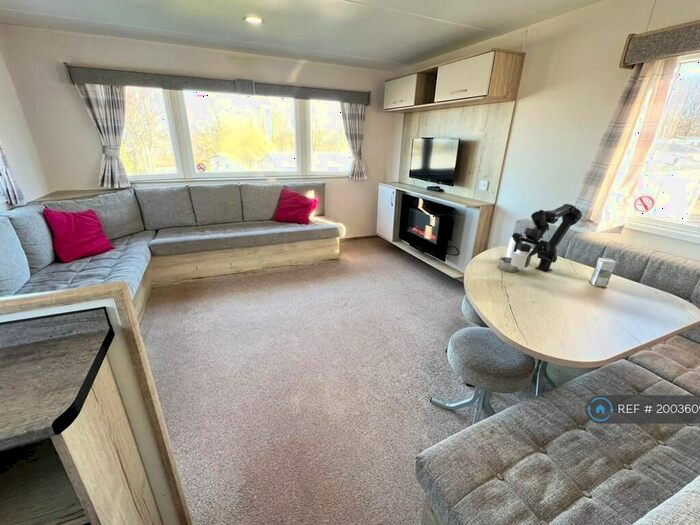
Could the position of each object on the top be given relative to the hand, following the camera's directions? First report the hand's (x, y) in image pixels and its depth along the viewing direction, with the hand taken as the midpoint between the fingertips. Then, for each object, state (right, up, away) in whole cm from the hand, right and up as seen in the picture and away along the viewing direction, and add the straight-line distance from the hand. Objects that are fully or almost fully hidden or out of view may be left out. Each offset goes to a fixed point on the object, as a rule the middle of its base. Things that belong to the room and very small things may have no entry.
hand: (521, 254), depth 164 cm
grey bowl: (+2, -8, +18) cm, 20 cm away
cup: (+12, -3, +32) cm, 35 cm away
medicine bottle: (+1, -6, +3) cm, 7 cm away
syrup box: (+42, -16, +2) cm, 45 cm away
